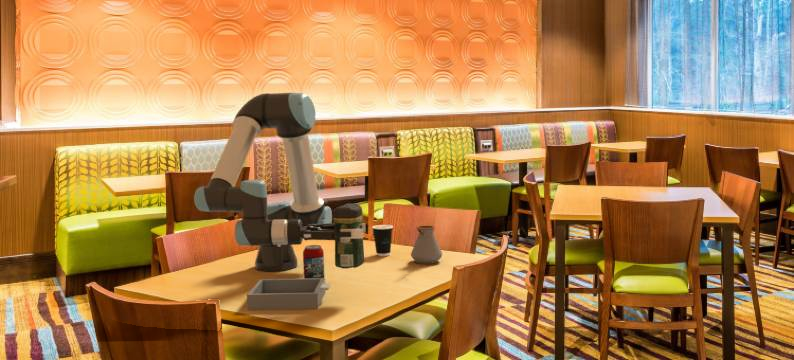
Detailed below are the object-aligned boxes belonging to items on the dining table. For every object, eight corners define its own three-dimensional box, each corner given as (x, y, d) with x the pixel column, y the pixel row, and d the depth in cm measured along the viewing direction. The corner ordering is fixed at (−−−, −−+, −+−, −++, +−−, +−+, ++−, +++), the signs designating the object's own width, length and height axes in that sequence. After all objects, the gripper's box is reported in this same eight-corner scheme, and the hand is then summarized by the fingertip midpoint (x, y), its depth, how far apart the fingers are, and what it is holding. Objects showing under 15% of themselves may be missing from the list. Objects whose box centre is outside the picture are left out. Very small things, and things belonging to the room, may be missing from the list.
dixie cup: (386, 257, 283) (385, 229, 281) (369, 255, 287) (368, 227, 286) (397, 253, 289) (396, 225, 288) (380, 252, 294) (379, 224, 292)
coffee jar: (343, 261, 230) (341, 201, 228) (367, 262, 228) (365, 202, 226) (331, 268, 221) (329, 206, 219) (356, 269, 219) (354, 206, 217)
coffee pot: (414, 258, 281) (413, 218, 280) (444, 258, 279) (443, 218, 277) (402, 271, 261) (401, 228, 259) (435, 272, 258) (434, 229, 256)
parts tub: (260, 293, 236) (260, 279, 235) (333, 292, 235) (332, 278, 235) (247, 310, 217) (246, 294, 217) (326, 308, 217) (325, 293, 216)
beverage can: (308, 286, 243) (307, 249, 242) (301, 281, 249) (299, 246, 248) (327, 283, 247) (326, 247, 245) (320, 278, 252) (318, 243, 251)
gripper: (294, 237, 235) (366, 236, 234) (282, 252, 214) (361, 250, 213) (293, 214, 234) (366, 212, 233) (281, 225, 213) (361, 224, 212)
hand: (364, 230), depth 223 cm, fingers closed on coffee jar, 8 cm apart
